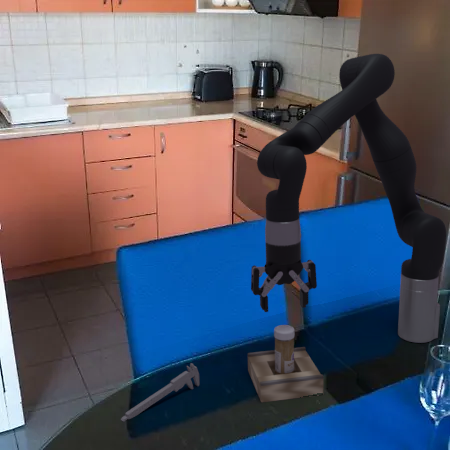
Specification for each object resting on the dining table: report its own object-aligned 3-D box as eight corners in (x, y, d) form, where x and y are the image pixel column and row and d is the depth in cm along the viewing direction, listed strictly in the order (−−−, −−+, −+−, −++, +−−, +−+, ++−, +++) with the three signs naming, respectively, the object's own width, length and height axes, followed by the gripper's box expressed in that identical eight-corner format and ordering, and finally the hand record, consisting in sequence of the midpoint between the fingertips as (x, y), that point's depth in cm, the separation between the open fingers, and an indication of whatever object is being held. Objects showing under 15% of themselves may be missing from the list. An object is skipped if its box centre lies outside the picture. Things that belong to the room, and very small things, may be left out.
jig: (304, 363, 144) (304, 346, 142) (323, 394, 130) (323, 376, 129) (248, 370, 142) (247, 353, 140) (261, 402, 128) (260, 383, 127)
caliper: (196, 385, 137) (195, 360, 135) (199, 386, 136) (198, 362, 134) (120, 421, 124) (118, 394, 122) (123, 423, 123) (120, 396, 121)
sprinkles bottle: (294, 387, 134) (294, 333, 130) (274, 386, 134) (273, 332, 131) (294, 377, 138) (294, 324, 134) (274, 376, 138) (274, 323, 135)
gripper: (309, 230, 131) (310, 298, 135) (246, 236, 129) (249, 305, 133) (320, 240, 124) (320, 311, 128) (254, 247, 122) (256, 319, 126)
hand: (284, 308), depth 131 cm, fingers open, 8 cm apart
